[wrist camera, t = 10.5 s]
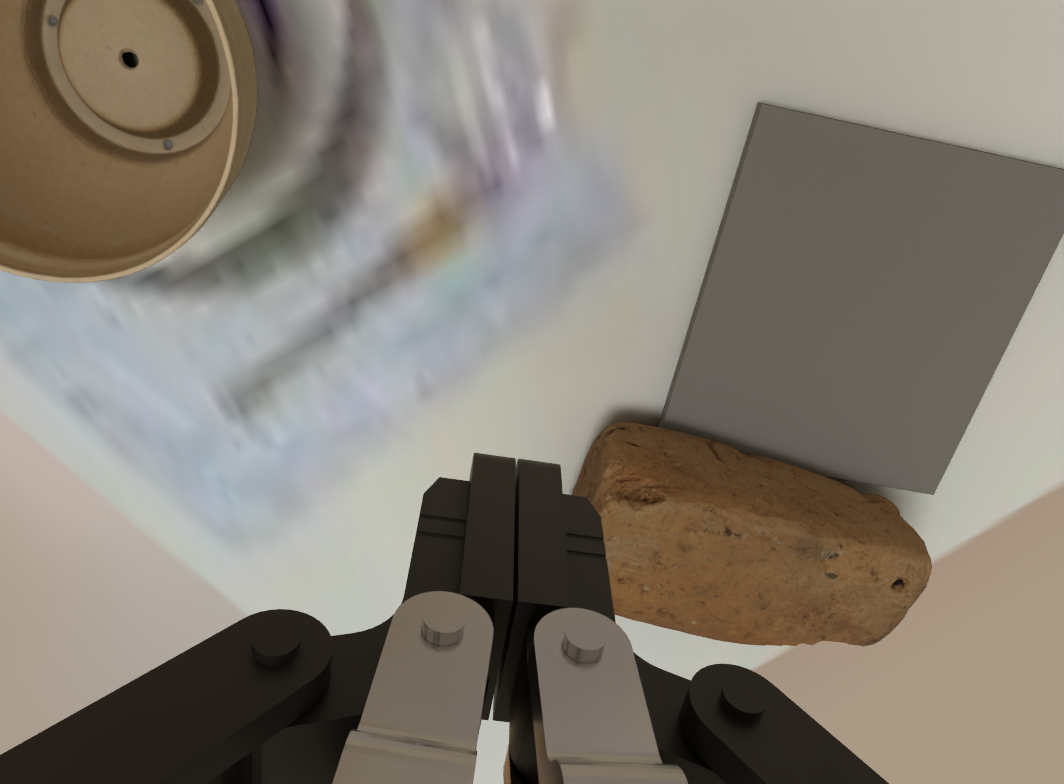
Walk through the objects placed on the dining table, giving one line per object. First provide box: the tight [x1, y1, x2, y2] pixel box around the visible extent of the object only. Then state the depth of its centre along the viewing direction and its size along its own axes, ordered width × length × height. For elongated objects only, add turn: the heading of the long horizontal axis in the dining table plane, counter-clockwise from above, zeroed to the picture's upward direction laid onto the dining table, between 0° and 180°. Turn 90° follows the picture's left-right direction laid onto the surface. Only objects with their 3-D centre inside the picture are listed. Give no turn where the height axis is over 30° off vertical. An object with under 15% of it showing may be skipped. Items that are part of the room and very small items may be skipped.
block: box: [572, 422, 932, 646], centre depth 48 cm, size 11×8×20 cm
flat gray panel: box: [658, 103, 1064, 495], centre depth 46 cm, size 20×18×1 cm
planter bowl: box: [0, 0, 257, 283], centre depth 35 cm, size 16×16×11 cm
